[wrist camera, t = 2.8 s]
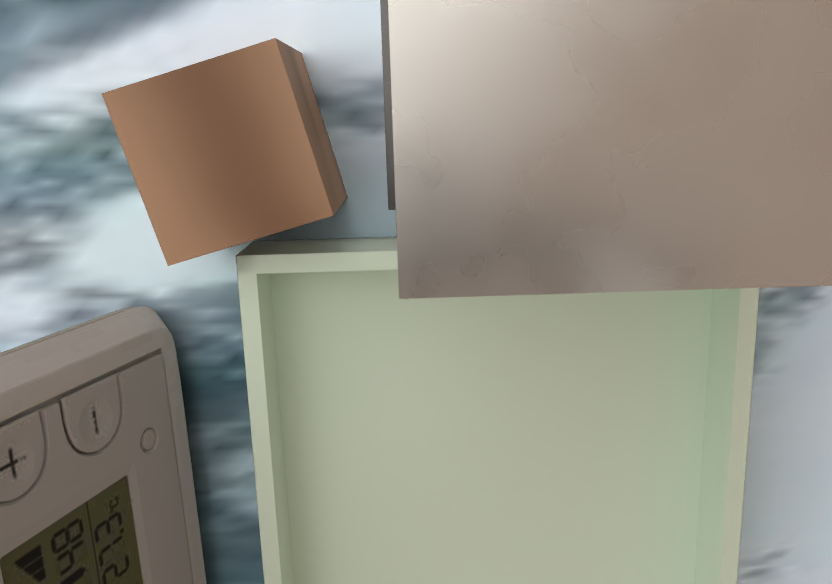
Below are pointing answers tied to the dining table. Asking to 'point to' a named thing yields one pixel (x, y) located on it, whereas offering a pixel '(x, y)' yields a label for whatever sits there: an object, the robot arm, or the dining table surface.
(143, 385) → the digital clock
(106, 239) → the dining table surface
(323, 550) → the tray
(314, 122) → the walnut block
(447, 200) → the light grey labelled box
